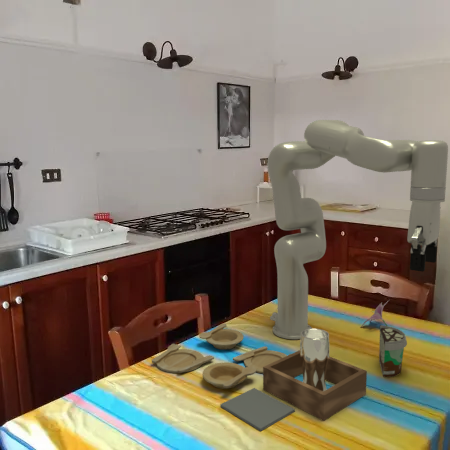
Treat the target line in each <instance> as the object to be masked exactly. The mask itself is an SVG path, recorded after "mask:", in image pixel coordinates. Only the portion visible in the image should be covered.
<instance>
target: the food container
mask: <svg viewBox="0 0 450 450" xmlns="http://www.w3.org/2000/svg"><path fill="white" fill-rule="evenodd" d="M407 345H408V342H407V336H406V334H405V333H404V332H403V331H402V330H401V329H399V328H396V327H394V326H393V327H392V326H388V325H387V326H386V325H379V350H378V352H379V353H378V361H379V365H380V371H381V374H382V377H383V378H391V377H393V378H394V377H397V376H399V375H400V374H401V371H402V365H403V357H404V349H405V348H406V347H407Z"/></svg>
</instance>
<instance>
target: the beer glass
mask: <svg viewBox="0 0 450 450" xmlns="http://www.w3.org/2000/svg"><path fill="white" fill-rule="evenodd" d="M299 340H300V342H299V350H300V359H301V365H302V371H303V373H302V382H304V383H306V384H308V385H310V386H312V387H315V388H317V389H319V390H321V391H325V390H327V385H326V380H325V376H326V371H327V366H328V361H329V356H330V333H329V332H328V331H327V330H324V329H322V328H321V329H320V328H312V329H305V330H303V331H302V332H301V339H299Z"/></svg>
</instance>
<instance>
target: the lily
mask: <svg viewBox="0 0 450 450" xmlns="http://www.w3.org/2000/svg"><path fill="white" fill-rule="evenodd" d="M388 302H389V300H387V301H386V302H385V303H384V304H383V302H381V303H379V304H378V306H377V307H376V308H375V310H374V309H372V313H373V314H372V315H371V316H370V317H369V318H368V319H366V320H365V321H364V322H363V323H362V324H361V326H363V325H365V324H366V323H367V322H369V323H371V322H372V321H375V320H376V321H377V320H381V321H382V322H383V323H384V326H388V325H387V322H386V321H385V320H384V319H383V310H384V307H385V306H386V305H387V304H388Z"/></svg>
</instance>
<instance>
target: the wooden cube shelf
mask: <svg viewBox="0 0 450 450" xmlns="http://www.w3.org/2000/svg"><path fill="white" fill-rule="evenodd" d="M289 354H290V355H289ZM289 354H288V355H287V356H286V357H284V358H281V359H279V360H277V361H275V362H273V363H270V364H268V365H266V366H264V367H263V374H262V390H264V391H265V392H267V393H268V394H271V395H274V396H275V397H276V398H279V399H281V400H283V401H284V402H287V403H289V404H291V405H292V406H294V407H296V408H298V409H300V410H302V411H304V412H305V413H307V414H310V415H312V416H314V417H315V418H318V419H319V420H320V421H324V422H325V421H326V420H328V419H329V418H331V417H333V416H334V415H335V414H337V413H339V412H340V411H342V410H343V409H345V408H347V407H348V406H350V405H351V404H353V403H355V402H356V401H357V400H360V399H361V398H363V397H364V396H366V395H367V378H368V377H367V375H368V371H367V370H365V369H363V368H360V367H358V366H355V365H352V364H350V363H347V362H345V361H342V360H340V359H337V358H334V357H332V356H330V355H329V361H328V366H327V371H326V376H325V381H328V382H331V383H333V384H334V385H332V386H331V387H329V388H326V390H325V391H321V390H319V389H317V388H315V387H312V386H310V385H308V384H306V383H304V382H303V380H299V379H297V378H296V377H298V376H300V375H303V371H302V365H301V359H300V349H299V350H297V351H295V352H293V353H289Z"/></svg>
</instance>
